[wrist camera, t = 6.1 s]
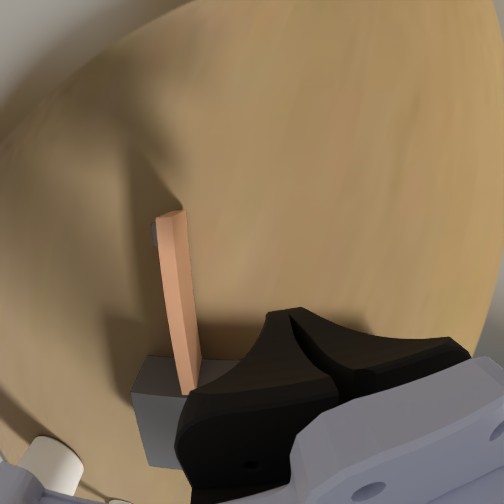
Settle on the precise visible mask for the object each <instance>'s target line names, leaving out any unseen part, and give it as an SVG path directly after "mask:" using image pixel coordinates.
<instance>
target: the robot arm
mask: <svg viewBox="0 0 504 504" xmlns="http://www.w3.org/2000/svg"><path fill="white" fill-rule="evenodd" d="M174 450H175V454H176V457H177V459H178V461H179V463H180V465H181V467H182V469H183V471H184V473H185V475H186V477H187V479H188V481H189V483H190V485H191V487H192V493H191V504H504V369H503V368H502V367H500V366H499V365H498V364H497V363H495V362H494V361H493V360H491V359H490V358H489V357H480V358H473V359H472V358H471V356H470V354H469V352H468V351H467V350H466V349H464V348H463V347H462V346H461V345H459V344H458V343H457V342H456V341H454V340H453V339H452V338H451V337H440V338H429V339H398V338H388V337H381V336H374V335H369V334H365V333H361V332H358V331H354V330H351V329H348V328H345V327H342V326H340V325H337V324H335V323H333V322H330V321H328V320H326V319H324V318H322V317H320V316H318V315H316V314H314V313H312V312H310V311H309V310H307V309H305V308H302V307H297V308H291V309H285V310H278V311H272V312H268V313H267V314H266V320H265V323H264V326H263V329H262V331H261V333H260V335H259V337H258V339H257V341H256V342H255V344H254V346H253V347H252V348H251V350H250V351H249V353H248V354H247V355H246V356H245V357H244V358H243V359H242V360H241V361H240V362H239V363H238V364H237V365H236V366H235V367H233V368H232V369H231V370H229V371H228V372H227V373H225V374H224V375H222V376H220V377H219V378H217V379H215V380H213V381H212V382H209V383H207V384H205V385H203V386H201V387H198V388H196V389H194V390H191V391H190V392H189V394H188V397H187V399H186V402H185V404H184V406H183V409H182V411H181V414H180V417H179V421H178V425H177V431H176V437H175V443H174ZM0 504H109V503H103V502H97V501H92V500H88V499H83V498H79V497H74V496H70V495H66V494H63V493H59V492H55V491H52V490H48V489H45V488H44V486H43V485H42V483H41V482H40V481H39V480H38V478H37V477H36V476H35V475H34V474H32V473H31V472H29V471H28V470H26V469H24V468H21V467H18V466H15V465H12V464H9V463H7V462H3V461H2V462H1V463H0Z"/></svg>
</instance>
